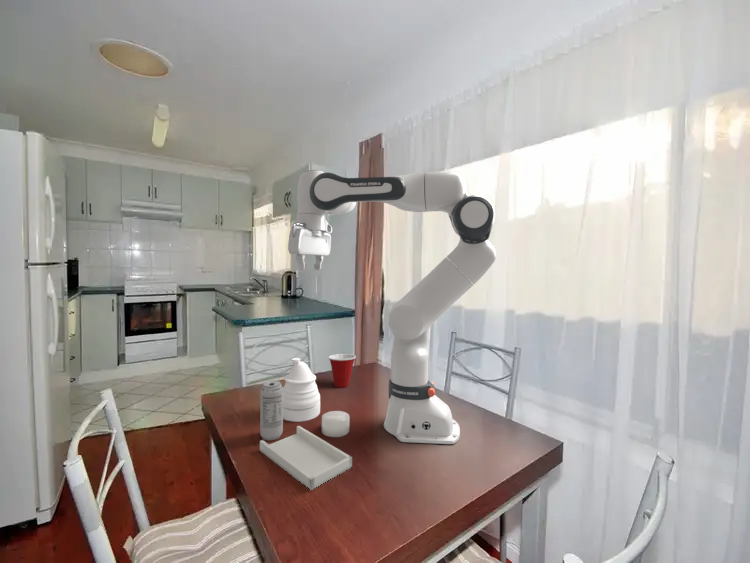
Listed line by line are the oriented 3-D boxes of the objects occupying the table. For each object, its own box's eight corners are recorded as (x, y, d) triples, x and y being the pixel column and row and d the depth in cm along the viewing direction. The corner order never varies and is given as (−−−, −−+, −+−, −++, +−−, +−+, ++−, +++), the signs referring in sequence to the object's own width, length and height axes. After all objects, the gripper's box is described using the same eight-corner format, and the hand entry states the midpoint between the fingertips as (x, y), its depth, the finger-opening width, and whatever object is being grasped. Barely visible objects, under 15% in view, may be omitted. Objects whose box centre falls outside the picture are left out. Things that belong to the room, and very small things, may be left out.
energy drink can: (283, 430, 100) (284, 379, 99) (281, 441, 94) (281, 387, 93) (262, 431, 99) (262, 379, 98) (258, 442, 93) (258, 387, 92)
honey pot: (297, 425, 102) (298, 366, 101) (271, 413, 110) (271, 358, 109) (328, 411, 113) (329, 357, 112) (302, 401, 120) (302, 350, 119)
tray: (259, 450, 89) (259, 441, 89) (298, 434, 97) (299, 425, 97) (311, 490, 74) (311, 479, 74) (352, 467, 82) (352, 457, 82)
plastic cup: (350, 379, 144) (350, 350, 143) (359, 388, 134) (359, 357, 133) (324, 382, 139) (325, 353, 139) (332, 391, 129) (332, 360, 129)
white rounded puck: (352, 425, 103) (352, 412, 103) (344, 438, 95) (344, 424, 95) (327, 422, 105) (327, 409, 105) (317, 434, 97) (317, 421, 97)
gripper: (302, 220, 95) (301, 270, 96) (334, 228, 114) (333, 269, 115) (282, 221, 97) (282, 269, 98) (317, 228, 116) (316, 269, 117)
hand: (310, 269), depth 107 cm, fingers open, 8 cm apart
